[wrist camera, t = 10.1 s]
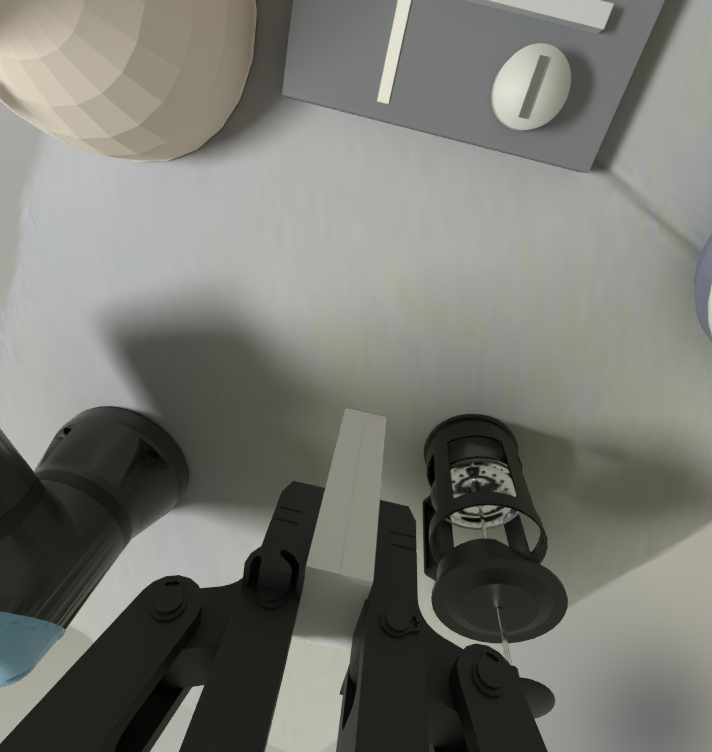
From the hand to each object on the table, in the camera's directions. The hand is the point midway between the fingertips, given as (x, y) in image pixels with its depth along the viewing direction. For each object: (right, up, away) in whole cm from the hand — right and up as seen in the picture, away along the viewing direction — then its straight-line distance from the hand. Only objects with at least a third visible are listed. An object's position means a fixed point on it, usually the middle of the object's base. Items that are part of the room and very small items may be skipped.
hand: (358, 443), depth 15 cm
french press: (+11, -6, +29) cm, 31 cm away
